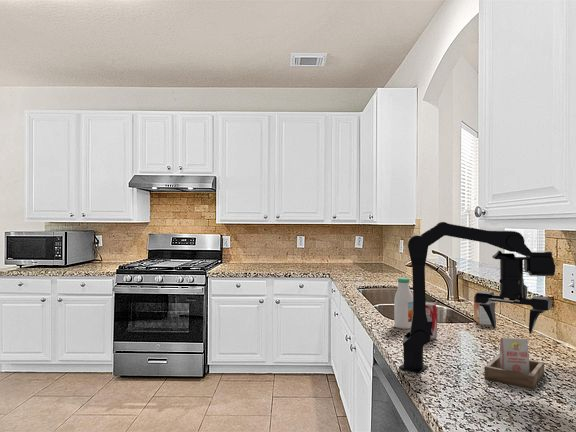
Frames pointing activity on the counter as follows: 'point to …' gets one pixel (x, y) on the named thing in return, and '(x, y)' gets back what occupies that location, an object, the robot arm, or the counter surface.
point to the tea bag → (514, 355)
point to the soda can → (432, 312)
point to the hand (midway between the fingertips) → (512, 330)
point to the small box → (480, 314)
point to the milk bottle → (403, 305)
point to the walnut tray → (514, 374)
